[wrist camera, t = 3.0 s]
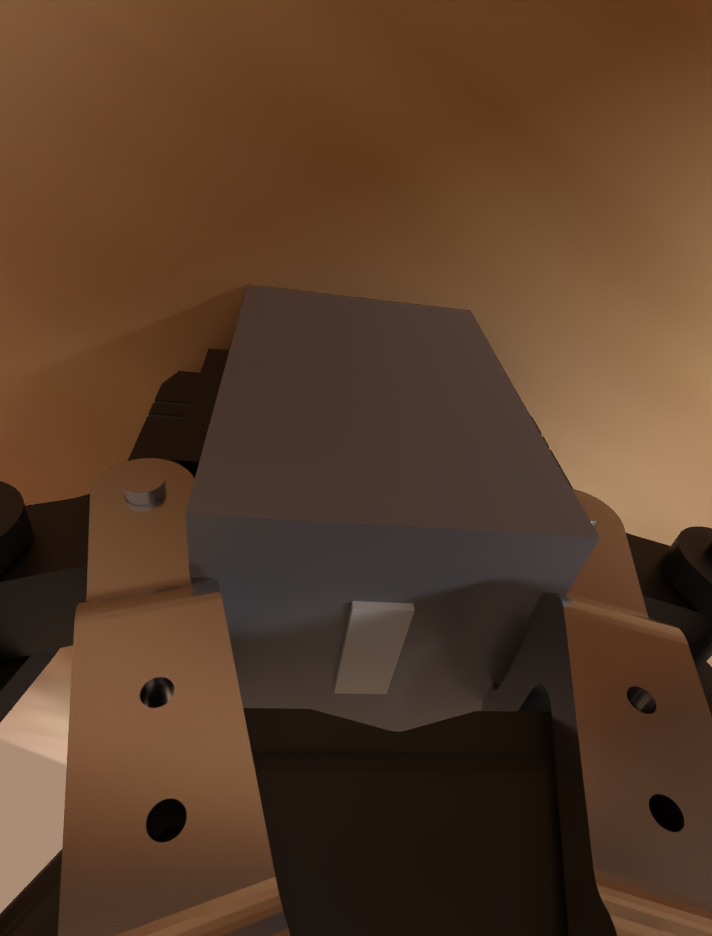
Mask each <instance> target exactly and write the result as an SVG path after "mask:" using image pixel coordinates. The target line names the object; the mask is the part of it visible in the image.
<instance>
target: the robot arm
mask: <svg viewBox="0 0 712 936" xmlns="http://www.w3.org/2000/svg"><path fill="white" fill-rule="evenodd" d="M229 351H230V350H220V349H208V352H207V355H206V358H205V361H204V364H203V366H202V369H201V372H200V373H195V372H184V371H179V372H177V373H176V374H175V375H173V376H172V377H170V378H169V379H168V380H166V381H165V382H164V383H162V385H161V387H160V389H159V391H158V394H157V396H156V398H155V403H153V405H152V407H151V409H150V412H149V417H148V416H147V418H146V421H145V423H144V425H143V428H142V430H141V432H140V434H139V437H138V439H137V441H136V443H135V446H134V448H133V450H132V452H131V455H130V457H129V459H128V461H126V462H123V463H120V464H117V465H115V466H113V467H111V468H109V469H108V470H106V471H105V472H103V473H102V474H101V475H100V476H99V477H98V478H97V479H96V480H95V482H94V483H93V485H92V488H91V492H90V494H88V495H84V496H81V497H77V498H72V499H67V500H61V501H54V502H48V503H41V504H34V505H28V506H25V504H24V501H23V498H22V496H21V494H20V493H19V492H18V491H17V490H16V489H15V488H14V487H12V486H11V485H9V484H7V483H4V482H1V481H0V722H1V721H2V720H3V719H4V718H5V716H6V715H7V714H8V713H9V711H10V710H11V709H12V708H13V706H14V705H15V704H16V703H17V701H18V700H19V699H20V698H21V697H22V695H23V694H24V693H25V692H26V690H27V689H28V688H29V687H30V685H31V684H32V683H33V682H34V680H35V679H36V678H37V677H38V676H39V674H40V673H41V672H42V671H43V669H44V668H45V667H46V666H47V664H48V663H49V662H50V661H51V659H52V658H53V657H54V656H55V654H56V653H57V651H58V650H59V648H62V647H66V646H70V645H73V658H72V677H71V696H70V715H69V734H68V753H67V772H66V791H65V809H64V828H63V829H64V830H63V848H62V850H61V851H60V852H59V853H58V854H57V855H56V856H55V857H54V858H53V859H52V860H51V861H50V862H49V863H48V864H47V865H46V866H45V867H44V869H43V870H42V871H41V872H40V873H39V874H38V875H37V876H36V877H35V878H34V879H33V880H32V881H31V882H30V883H29V884H28V885H27V886H26V887H25V888H24V889H23V891H22V892H21V893H20V894H19V895H18V896H17V897H16V898H15V899H14V900H13V901H12V902H11V903H10V904H9V905H8V906H7V907H6V908H5V909H4V910H3V912H2V913H1V914H0V936H712V667H711V666H710V665H709V664H708V663H707V662H706V661H707V660H708V659H709V658H710V657H711V656H712V528H707V527H689V528H686V529H684V530H683V531H681V533H680V534H679V536H678V537H677V538H676V540H675V541H674V542H673V544H672V545H671V546H668V545H665V544H661V543H658V542H655V541H651V540H648V539H644V538H641V537H637V536H634V535H631V534H628V533H626V532H625V528H624V525H623V523H622V521H621V519H620V518H619V516H618V515H617V514H616V513H615V512H614V511H613V510H612V509H611V508H610V507H609V506H608V505H606V504H605V503H604V502H602V501H601V500H599V499H597V498H596V497H594V496H592V495H590V494H587V493H585V492H582V491H579V490H575V489H573V487H572V486H571V484H570V482H569V480H568V479H567V477H566V475H565V474H564V472H563V470H562V468H561V467H560V465H559V463H558V461H557V460H556V458H555V456H554V454H553V453H552V451H551V450H550V451H551V453H552V455H553V456H554V458H555V460H556V462H557V463H558V465H559V467H560V469H561V470H562V472H563V474H564V476H565V477H566V479H567V481H568V483H569V484H570V486H571V488H572V490H573V491H574V493H575V495H576V497H577V498H578V500H579V502H580V504H581V505H582V507H583V509H584V511H585V512H586V514H587V516H588V518H589V519H590V521H591V523H592V525H593V526H594V528H595V530H596V532H597V533H598V535H599V537H600V539H599V541H598V542H597V544H596V546H595V547H594V549H593V551H592V552H591V554H590V556H589V557H588V559H587V561H586V562H585V564H584V566H583V568H582V569H581V571H580V573H579V574H578V576H577V578H576V579H575V581H574V583H573V584H572V586H571V588H570V589H569V591H568V593H567V594H562V593H549V592H543V593H542V595H541V596H540V598H539V600H538V602H537V604H536V605H535V607H534V609H533V611H532V613H531V614H530V616H529V621H528V628H527V633H526V637H525V640H524V643H523V645H522V647H521V649H520V651H519V653H518V654H517V656H516V658H515V660H514V661H513V663H512V665H511V667H510V668H509V670H508V672H507V674H506V676H505V677H504V679H503V681H502V683H501V684H495V683H492V685H491V687H490V689H489V690H488V692H487V694H486V696H485V698H484V700H483V701H482V708H481V711H474V712H470V713H467V714H463V715H460V716H456V717H453V718H449V719H445V720H442V721H438V722H435V723H431V724H427V725H424V726H420V727H417V728H413V729H409V730H406V731H390V730H386V729H382V728H378V727H375V726H371V725H368V724H364V723H360V722H357V721H353V720H349V719H346V718H342V717H338V716H335V715H331V714H327V713H324V712H320V711H316V710H313V709H284V708H243V705H242V700H241V694H240V689H239V684H238V679H237V674H236V669H235V663H234V658H233V653H232V648H231V643H230V637H229V632H228V627H227V622H226V617H225V611H224V606H223V601H222V596H221V591H220V587H219V583H218V581H217V579H213V577H208V578H199V577H190V570H189V557H188V544H187V531H186V518H185V513H186V509H187V505H188V502H189V498H190V494H191V490H192V487H193V483H194V479H195V476H196V472H197V468H198V465H199V461H200V457H201V454H202V450H203V446H204V443H205V439H206V435H207V432H208V428H209V424H210V421H211V417H212V413H213V410H214V406H215V402H216V399H217V395H218V391H219V387H220V384H221V380H222V376H223V373H224V369H225V365H226V362H227V358H228V354H229ZM531 418H532V417H531ZM532 420H533V421H534V419H533V418H532ZM534 423H535V421H534ZM535 425H536V423H535ZM536 427H537V428H538V426H537V425H536ZM538 430H539V428H538ZM539 432H540V430H539ZM540 434H542V433H541V432H540ZM543 439H544V437H543ZM544 441H545V442H546V440H545V439H544ZM546 444H547V442H546ZM547 446H548V444H547ZM548 448H549V446H548Z"/></svg>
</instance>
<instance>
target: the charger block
mask: <svg viewBox="0 0 712 936" xmlns="http://www.w3.org/2000/svg"><path fill="white" fill-rule="evenodd" d="M185 518H186V531H187V544H188V557H189V570H190V577H199V578H208V577H213V579H217V581H218V583H219V587H220V591H221V596H222V601H223V606H224V611H225V617H226V622H227V627H228V632H229V637H230V643H231V648H232V653H233V658H234V663H235V669H236V674H237V679H238V684H239V689H240V694H241V700H242V705H243V708H284V709H313V710H316V711H320V712H324V713H327V714H331V715H335V716H338V717H342V718H346V719H349V720H353V721H357V722H360V723H364V724H368V725H371V726H375V727H378V728H382V729H386V730H409V729H413V728H417V727H420V726H424V725H427V724H431V723H435V722H438V721H442V720H445V719H449V718H453V717H456V716H460V715H463V714H467V713H470V712H474V711H481V708H482V701H483V700H484V698H485V696H486V694H487V692H488V690H489V689H490V687H491V685H492V683H495V684H501V683H502V681H503V679H504V677H505V676H506V674H507V672H508V670H509V668H510V667H511V665H512V663H513V661H514V660H515V658H516V656H517V654H518V653H519V651H520V649H521V647H522V645H523V643H524V640H525V637H526V633H527V628H528V621H529V616H530V614H531V613H532V611H533V609H534V607H535V605H536V604H537V602H538V600H539V598H540V596H541V595H542V593H543V592H549V593H562V594H567V593H568V591H569V589H570V588H571V586H572V584H573V583H574V581H575V579H576V578H577V576H578V574H579V573H580V571H581V569H582V568H583V566H584V564H585V562H586V561H587V559H588V557H589V556H590V554H591V552H592V551H593V549H594V547H595V546H596V544H597V542H598V541H599V539H600V537H599V535H598V533H597V532H596V530H595V528H594V526H593V525H592V523H591V521H590V519H589V518H588V516H587V514H586V512H585V511H584V509H583V507H582V505H581V504H580V502H579V500H578V498H577V497H576V495H575V493H574V491H573V490H572V488H571V486H570V484H569V483H568V481H567V479H566V477H565V476H564V474H563V472H562V470H561V469H560V467H559V465H558V463H557V462H556V460H555V458H554V456H553V455H552V453H551V451H550V449H549V448H548V446H547V444H546V442H545V441H544V439H543V437H542V435H541V434H540V432H539V430H538V428H537V427H536V425H535V423H534V421H533V420H532V418H531V416H530V414H529V413H528V411H527V409H526V407H525V406H524V404H523V402H522V400H521V399H520V397H519V395H518V393H517V392H516V390H515V388H514V386H513V385H512V383H511V381H510V379H509V378H508V376H507V374H506V372H505V371H504V369H503V367H502V365H501V364H500V362H499V360H498V358H497V357H496V355H495V353H494V351H493V350H492V348H491V346H490V344H489V343H488V341H487V339H486V337H485V336H484V334H483V332H482V330H481V329H480V327H479V325H478V323H477V322H476V320H475V318H474V316H473V315H472V313H471V311H469V310H460V309H451V308H443V307H434V306H425V305H417V304H408V303H399V302H391V301H382V300H374V299H365V298H356V297H348V296H339V295H330V294H322V293H313V292H304V291H296V290H287V289H278V288H270V287H261V286H252V285H247V288H246V292H245V296H244V299H243V303H242V307H241V310H240V314H239V318H238V321H237V325H236V329H235V332H234V336H233V340H232V343H231V347H230V351H229V354H228V358H227V362H226V365H225V369H224V373H223V376H222V380H221V384H220V387H219V391H218V395H217V399H216V402H215V406H214V410H213V413H212V417H211V421H210V424H209V428H208V432H207V435H206V439H205V443H204V446H203V450H202V454H201V457H200V461H199V465H198V468H197V472H196V476H195V479H194V483H193V487H192V490H191V494H190V498H189V502H188V505H187V509H186V513H185Z"/></svg>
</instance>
